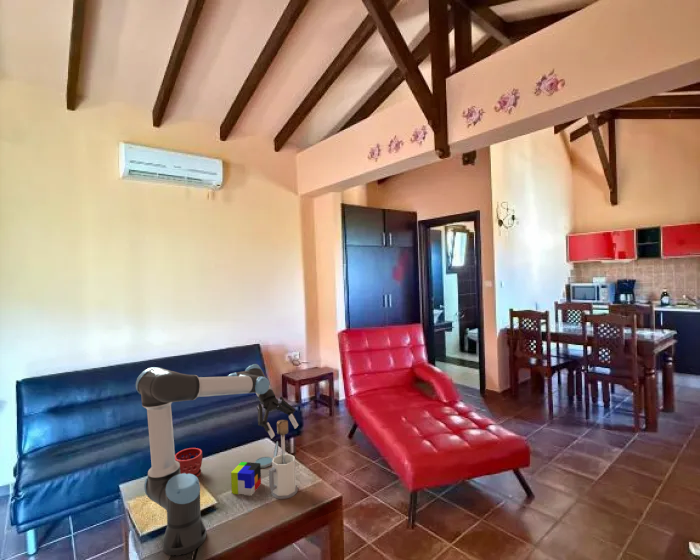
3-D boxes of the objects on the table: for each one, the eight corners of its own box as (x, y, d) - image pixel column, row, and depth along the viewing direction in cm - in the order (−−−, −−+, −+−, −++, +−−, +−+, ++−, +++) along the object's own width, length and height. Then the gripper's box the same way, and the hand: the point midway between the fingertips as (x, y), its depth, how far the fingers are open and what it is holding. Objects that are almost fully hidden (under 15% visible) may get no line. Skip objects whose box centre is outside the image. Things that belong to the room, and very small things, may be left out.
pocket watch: (278, 445, 198) (249, 449, 194) (279, 466, 198) (249, 470, 194) (277, 437, 207) (249, 441, 204) (278, 457, 208) (250, 461, 204)
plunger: (282, 475, 169) (280, 426, 168) (271, 469, 174) (270, 422, 174) (296, 468, 175) (294, 421, 174) (285, 462, 180) (283, 417, 180)
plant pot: (169, 478, 189) (168, 455, 188) (194, 467, 199) (193, 445, 199) (183, 487, 181) (182, 462, 180) (208, 475, 191) (207, 451, 191)
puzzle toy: (251, 495, 172) (250, 474, 172) (231, 493, 174) (230, 472, 174) (261, 483, 182) (260, 463, 182) (242, 482, 184) (241, 461, 184)
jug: (279, 504, 165) (278, 470, 165) (263, 493, 173) (262, 461, 173) (303, 490, 175) (301, 458, 175) (286, 481, 183) (285, 450, 183)
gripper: (282, 391, 194) (302, 427, 184) (239, 404, 176) (259, 445, 166) (288, 382, 191) (309, 419, 181) (245, 395, 172) (265, 436, 162)
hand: (285, 431), depth 173 cm, fingers open, 13 cm apart
